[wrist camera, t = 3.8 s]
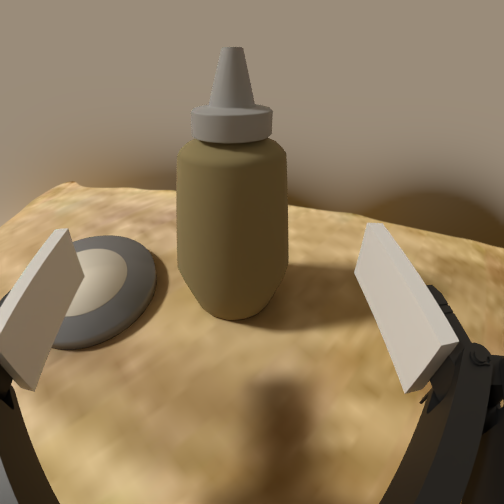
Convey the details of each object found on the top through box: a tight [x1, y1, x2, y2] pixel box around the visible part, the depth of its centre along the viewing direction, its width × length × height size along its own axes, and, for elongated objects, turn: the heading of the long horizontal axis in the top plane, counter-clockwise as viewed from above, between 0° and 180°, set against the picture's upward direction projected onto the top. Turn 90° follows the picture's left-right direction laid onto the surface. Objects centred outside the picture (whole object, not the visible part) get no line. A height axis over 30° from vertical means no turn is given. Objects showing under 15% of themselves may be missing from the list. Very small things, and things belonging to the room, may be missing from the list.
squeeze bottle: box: [177, 47, 288, 320], centre depth 19 cm, size 8×8×18 cm
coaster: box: [51, 236, 157, 350], centre depth 24 cm, size 14×14×1 cm
